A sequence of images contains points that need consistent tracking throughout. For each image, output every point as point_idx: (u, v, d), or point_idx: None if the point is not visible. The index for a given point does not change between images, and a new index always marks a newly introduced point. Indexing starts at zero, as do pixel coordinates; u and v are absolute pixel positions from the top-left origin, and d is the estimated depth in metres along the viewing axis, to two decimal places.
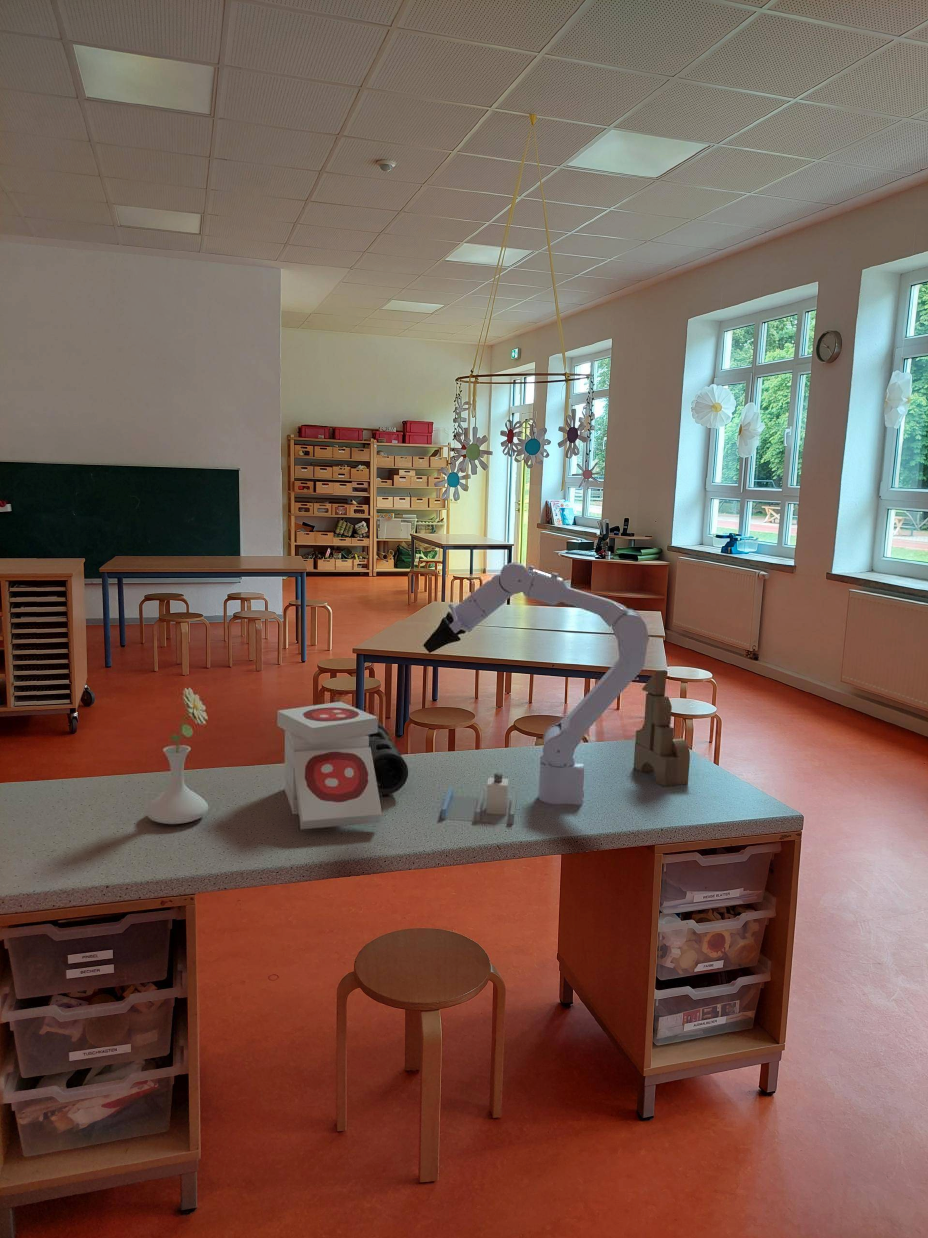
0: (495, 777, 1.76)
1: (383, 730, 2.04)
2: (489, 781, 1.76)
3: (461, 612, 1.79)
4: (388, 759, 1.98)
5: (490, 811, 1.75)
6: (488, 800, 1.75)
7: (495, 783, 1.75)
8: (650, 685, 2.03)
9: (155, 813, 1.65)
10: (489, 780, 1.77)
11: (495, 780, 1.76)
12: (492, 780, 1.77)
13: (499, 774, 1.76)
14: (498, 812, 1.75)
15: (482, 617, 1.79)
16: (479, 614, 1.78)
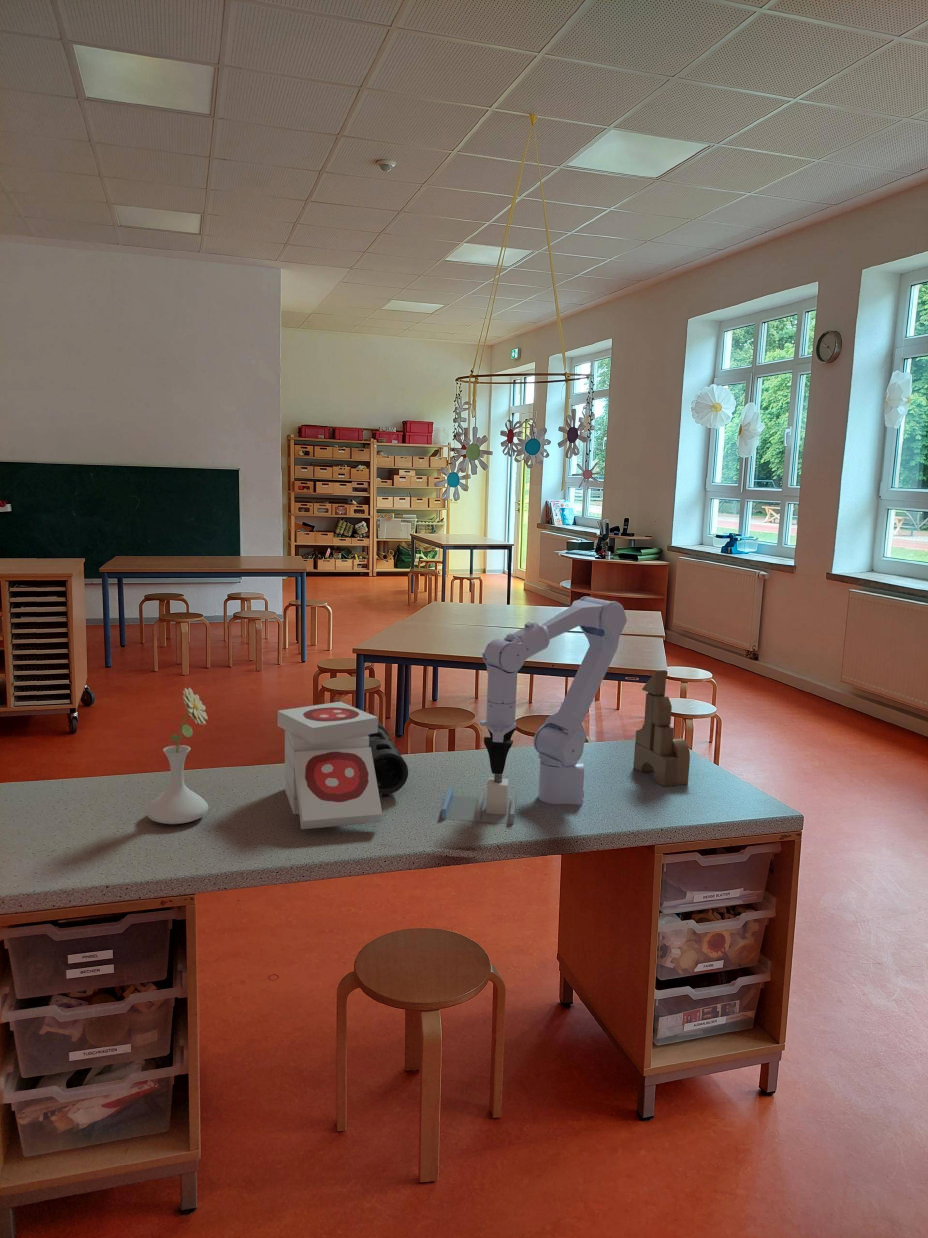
0: (495, 777, 1.76)
1: (383, 730, 2.04)
2: (489, 781, 1.76)
3: (493, 720, 1.72)
4: (388, 759, 1.98)
5: (490, 811, 1.75)
6: (488, 800, 1.75)
7: (495, 783, 1.75)
8: (650, 685, 2.03)
9: (155, 813, 1.65)
10: (489, 780, 1.77)
11: (495, 780, 1.76)
12: (492, 780, 1.77)
13: (499, 774, 1.76)
14: (498, 812, 1.75)
15: (512, 708, 1.72)
16: (507, 708, 1.71)
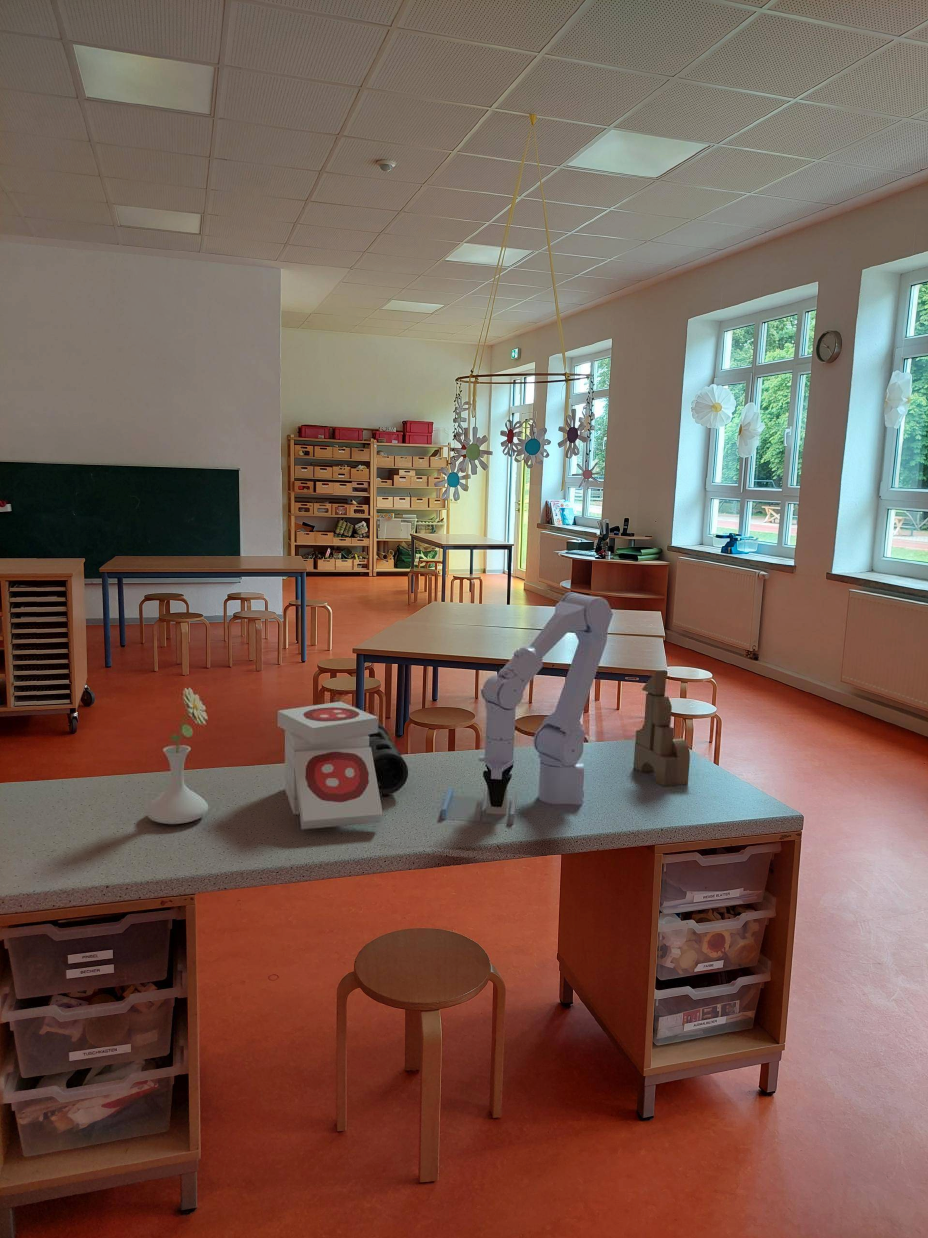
0: None
1: (383, 730, 2.04)
2: None
3: (492, 756, 1.73)
4: (388, 759, 1.98)
5: (490, 811, 1.75)
6: (488, 800, 1.75)
7: None
8: (650, 685, 2.03)
9: (155, 813, 1.65)
10: None
11: None
12: None
13: None
14: (498, 812, 1.75)
15: (510, 744, 1.73)
16: (505, 744, 1.72)
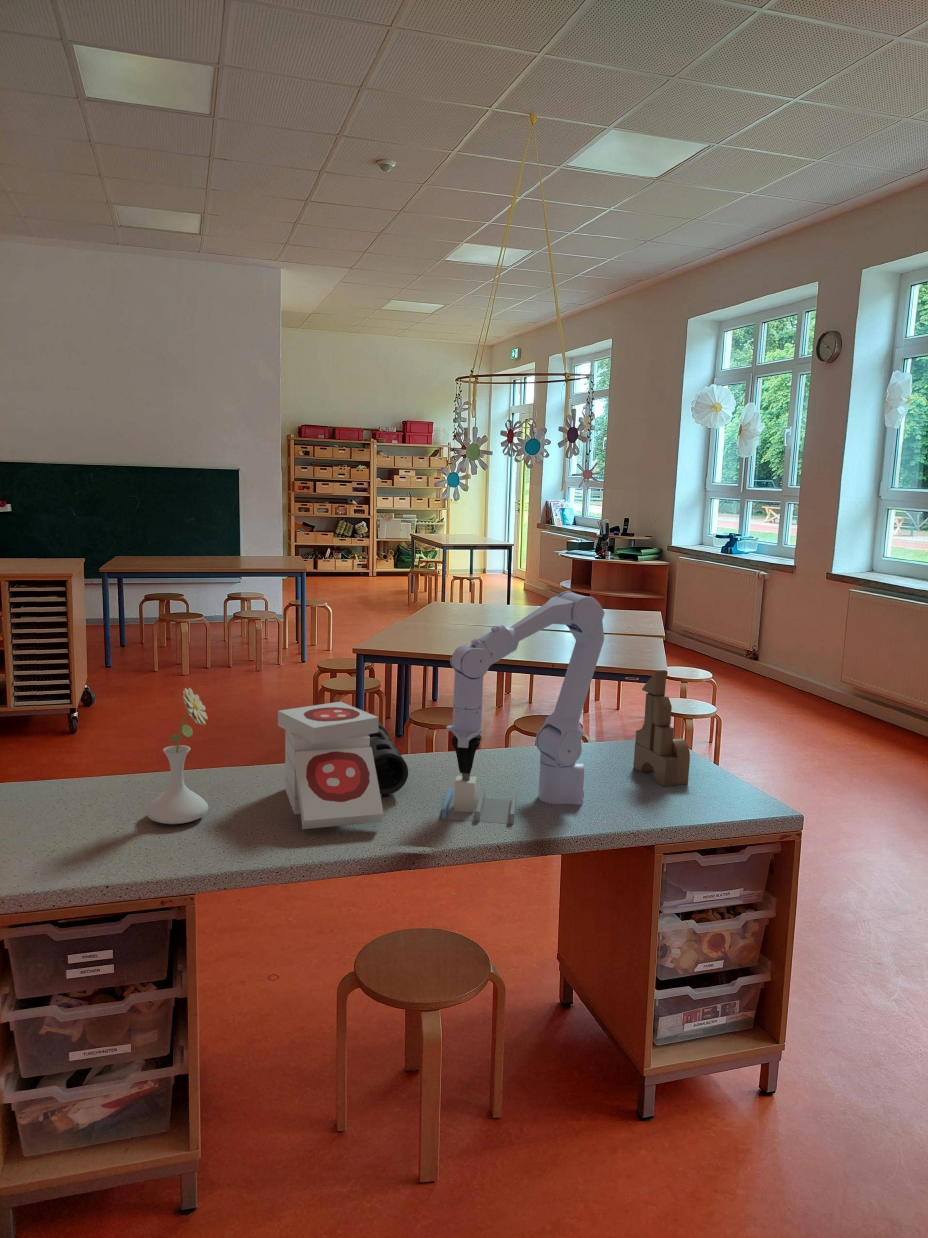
0: (463, 775, 1.76)
1: (383, 730, 2.04)
2: (457, 779, 1.77)
3: (459, 725, 1.73)
4: (388, 759, 1.98)
5: (458, 809, 1.76)
6: (456, 798, 1.75)
7: (463, 780, 1.76)
8: (650, 685, 2.03)
9: (155, 813, 1.65)
10: (457, 778, 1.77)
11: (463, 778, 1.76)
12: (460, 778, 1.77)
13: None
14: (466, 810, 1.76)
15: (478, 713, 1.73)
16: (473, 714, 1.72)
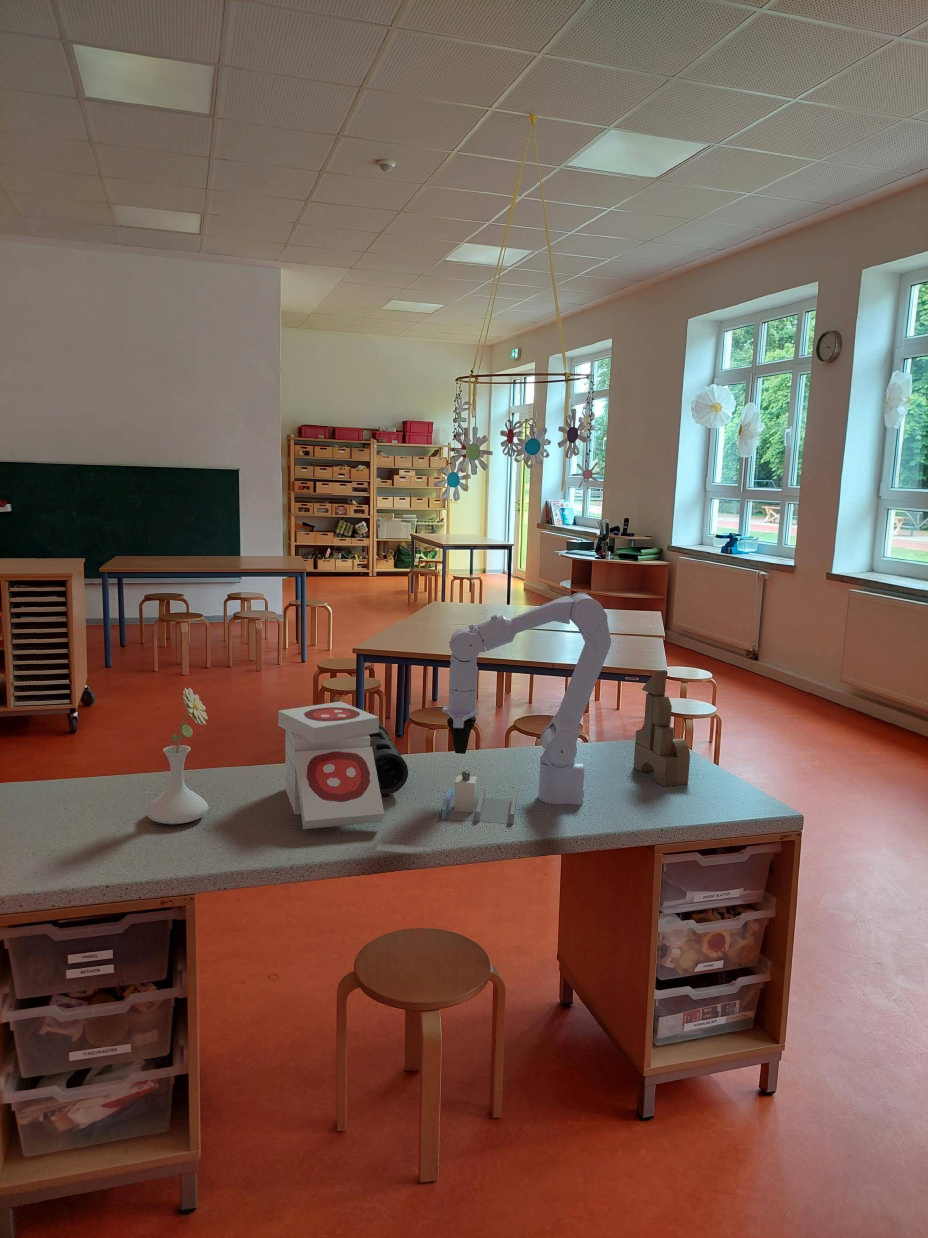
0: (463, 775, 1.76)
1: (383, 730, 2.04)
2: (457, 779, 1.77)
3: (455, 707, 1.79)
4: (388, 759, 1.98)
5: (458, 809, 1.76)
6: (456, 798, 1.75)
7: (463, 780, 1.76)
8: (650, 685, 2.03)
9: (155, 813, 1.65)
10: (457, 778, 1.77)
11: (463, 778, 1.76)
12: (460, 778, 1.77)
13: (467, 772, 1.76)
14: (466, 810, 1.76)
15: (472, 695, 1.79)
16: (468, 695, 1.78)
